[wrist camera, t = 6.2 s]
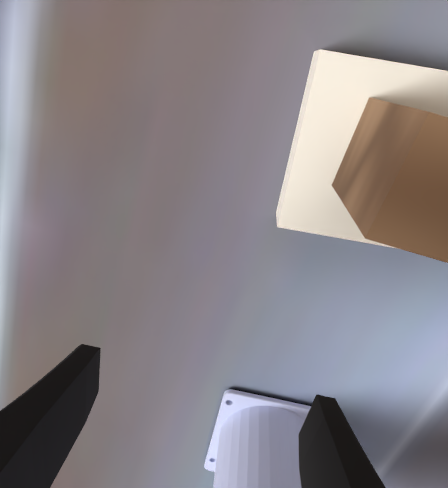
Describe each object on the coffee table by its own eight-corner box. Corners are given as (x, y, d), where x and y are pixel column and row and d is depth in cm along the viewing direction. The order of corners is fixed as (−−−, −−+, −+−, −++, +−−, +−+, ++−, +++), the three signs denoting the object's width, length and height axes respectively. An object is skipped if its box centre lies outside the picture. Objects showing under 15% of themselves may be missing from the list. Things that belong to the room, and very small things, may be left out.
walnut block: (411, 208, 17) (480, 272, 12) (331, 185, 17) (365, 238, 11) (457, 124, 15) (565, 153, 10) (369, 97, 15) (429, 112, 10)
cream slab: (415, 234, 20) (434, 254, 18) (275, 209, 20) (277, 227, 18) (482, 81, 17) (517, 82, 14) (312, 51, 17) (320, 49, 14)
